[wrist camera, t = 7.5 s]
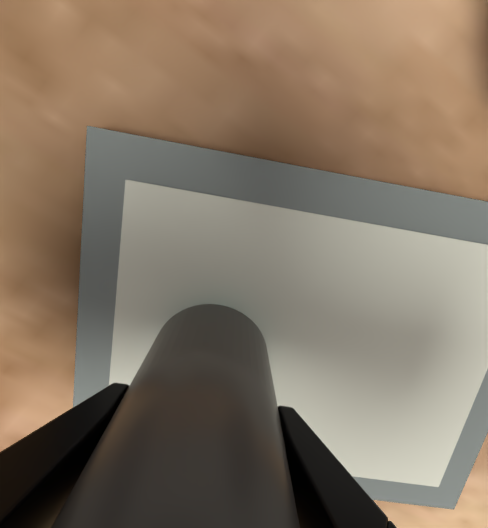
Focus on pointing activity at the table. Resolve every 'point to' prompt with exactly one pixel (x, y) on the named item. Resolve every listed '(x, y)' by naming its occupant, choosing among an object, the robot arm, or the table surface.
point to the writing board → (300, 297)
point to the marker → (192, 436)
